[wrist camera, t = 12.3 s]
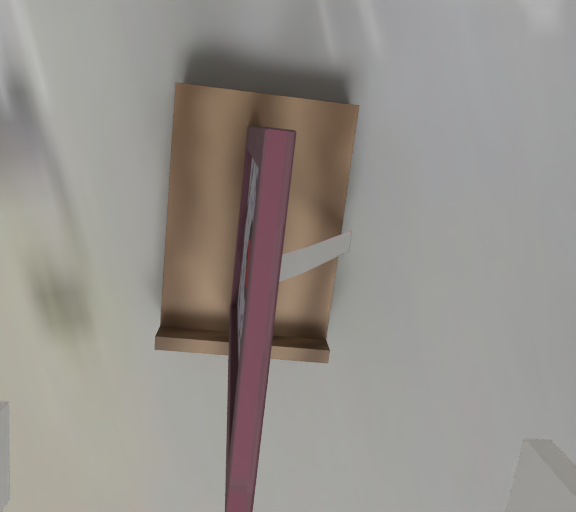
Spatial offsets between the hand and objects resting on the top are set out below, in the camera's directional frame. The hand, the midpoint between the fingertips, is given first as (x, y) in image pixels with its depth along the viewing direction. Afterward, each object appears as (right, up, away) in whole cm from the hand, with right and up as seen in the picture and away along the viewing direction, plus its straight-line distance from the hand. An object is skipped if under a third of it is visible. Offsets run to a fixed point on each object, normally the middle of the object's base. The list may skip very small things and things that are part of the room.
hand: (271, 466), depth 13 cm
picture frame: (+1, +8, +32) cm, 33 cm away
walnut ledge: (-3, +9, +36) cm, 37 cm away
